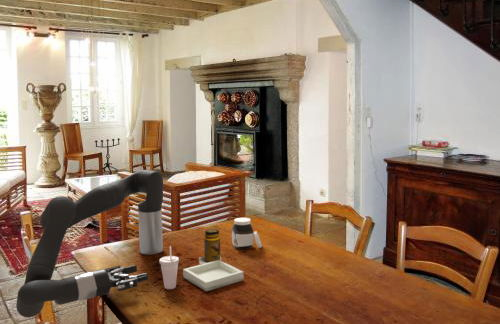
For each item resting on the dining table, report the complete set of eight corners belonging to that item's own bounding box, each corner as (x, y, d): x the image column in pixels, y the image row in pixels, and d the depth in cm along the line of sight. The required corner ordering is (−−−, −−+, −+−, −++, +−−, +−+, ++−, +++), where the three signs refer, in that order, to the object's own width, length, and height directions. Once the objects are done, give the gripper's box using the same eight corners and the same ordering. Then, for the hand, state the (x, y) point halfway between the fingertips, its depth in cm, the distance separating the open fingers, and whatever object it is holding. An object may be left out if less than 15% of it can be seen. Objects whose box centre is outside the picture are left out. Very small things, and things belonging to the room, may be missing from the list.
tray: (183, 277, 165) (183, 269, 165) (219, 267, 174) (219, 259, 174) (206, 291, 153) (206, 282, 153) (243, 280, 162) (243, 271, 162)
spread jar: (229, 244, 200) (229, 217, 199) (253, 241, 205) (253, 214, 203) (241, 253, 190) (240, 225, 188) (266, 249, 194) (266, 221, 193)
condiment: (222, 263, 179) (221, 232, 177) (199, 264, 178) (198, 233, 176) (220, 256, 186) (220, 227, 184) (198, 257, 185) (198, 228, 183)
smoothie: (175, 291, 153) (174, 250, 151) (157, 290, 155) (155, 248, 153) (182, 283, 160) (181, 243, 158) (164, 282, 161) (163, 242, 159)
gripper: (83, 289, 146) (133, 276, 156) (99, 305, 135) (152, 290, 145) (82, 265, 145) (132, 254, 155) (98, 280, 134) (151, 267, 143)
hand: (142, 272), depth 150 cm, fingers open, 8 cm apart
